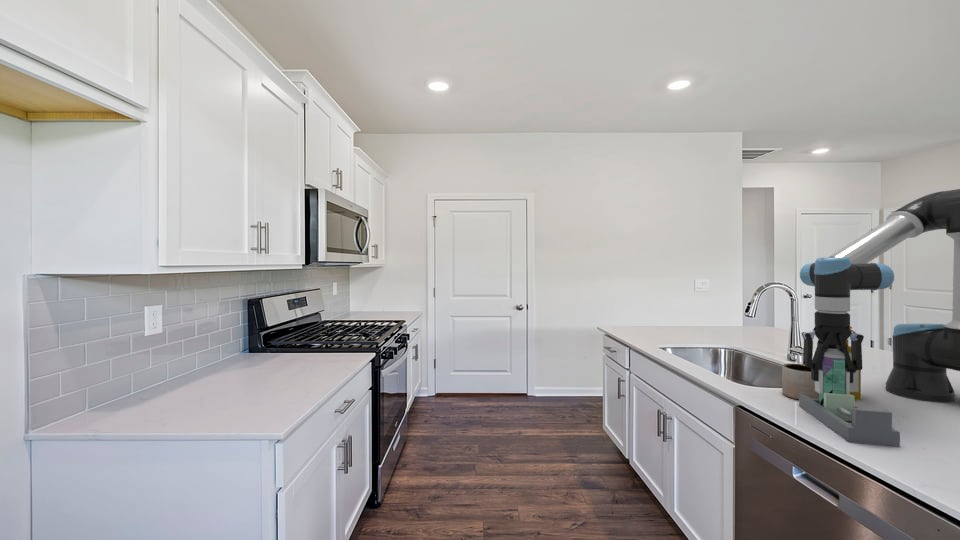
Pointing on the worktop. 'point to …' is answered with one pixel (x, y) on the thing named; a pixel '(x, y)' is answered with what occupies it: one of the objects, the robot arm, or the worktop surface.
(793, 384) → the planter
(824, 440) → the worktop surface
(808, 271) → the robot arm
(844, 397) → the pusher
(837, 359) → the spray can
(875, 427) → the lane
